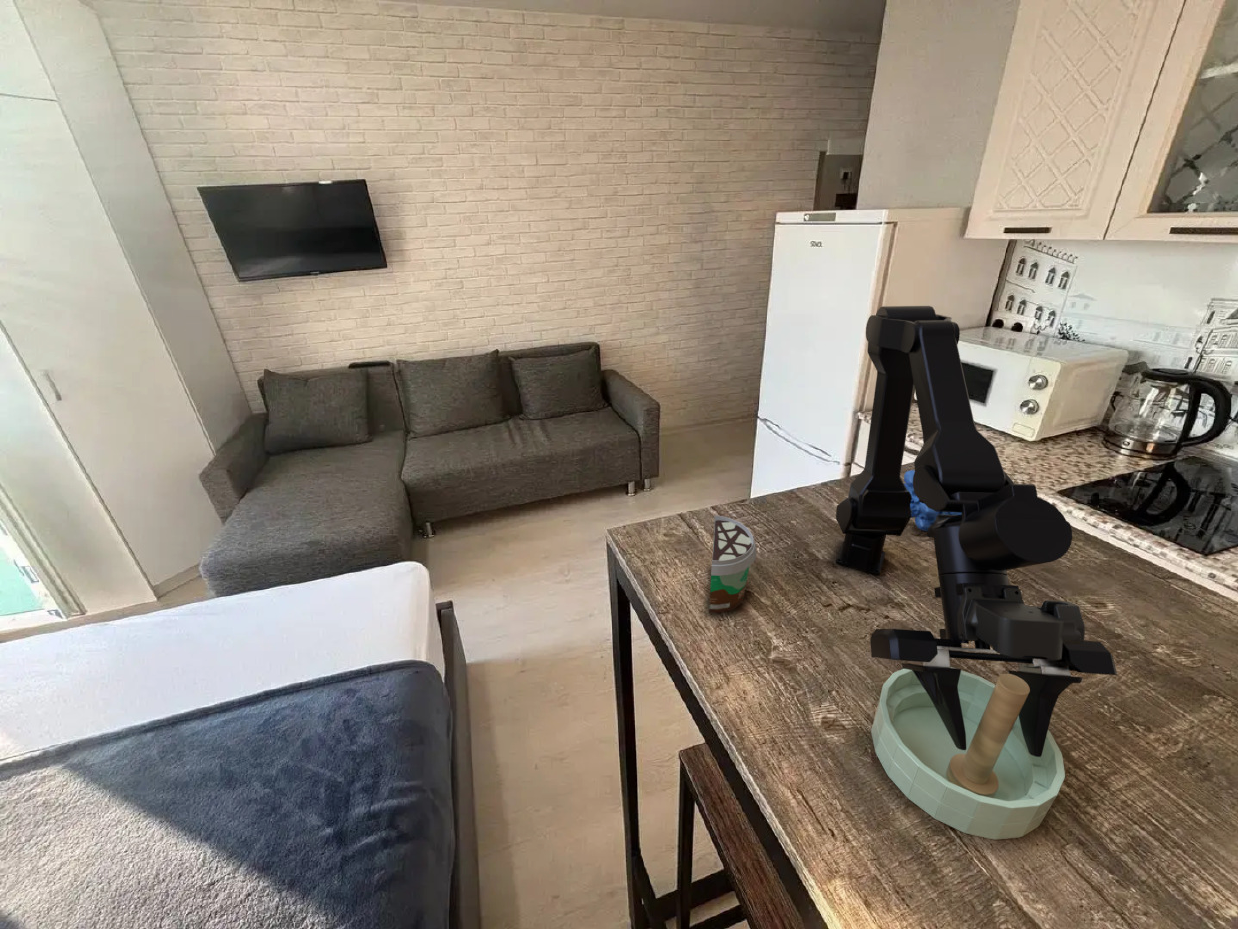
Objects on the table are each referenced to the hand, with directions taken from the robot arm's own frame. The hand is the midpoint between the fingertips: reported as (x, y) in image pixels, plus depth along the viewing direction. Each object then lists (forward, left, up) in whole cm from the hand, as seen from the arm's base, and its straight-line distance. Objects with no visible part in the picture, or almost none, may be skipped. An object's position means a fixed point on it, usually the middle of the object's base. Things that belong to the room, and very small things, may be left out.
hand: (998, 752), depth 46 cm
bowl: (-3, -2, -7) cm, 8 cm away
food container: (-16, -31, -8) cm, 36 cm away
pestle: (-1, -1, -7) cm, 7 cm away
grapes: (-47, -8, -8) cm, 49 cm away
